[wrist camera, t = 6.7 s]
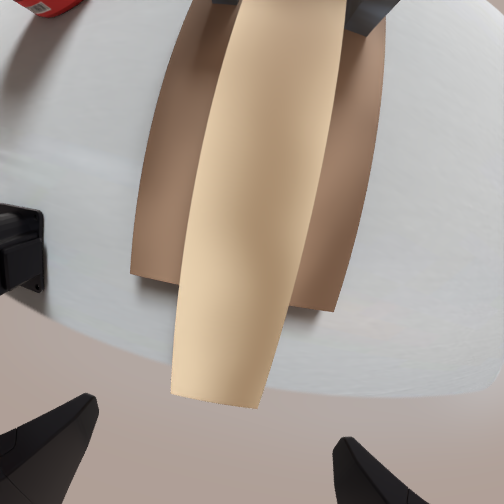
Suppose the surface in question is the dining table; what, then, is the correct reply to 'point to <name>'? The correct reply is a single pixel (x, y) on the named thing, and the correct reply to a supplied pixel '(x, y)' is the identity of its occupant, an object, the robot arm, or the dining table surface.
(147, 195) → the track
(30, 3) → the canned food
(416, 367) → the dining table surface
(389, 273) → the dining table surface
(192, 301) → the beech bar
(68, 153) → the dining table surface
